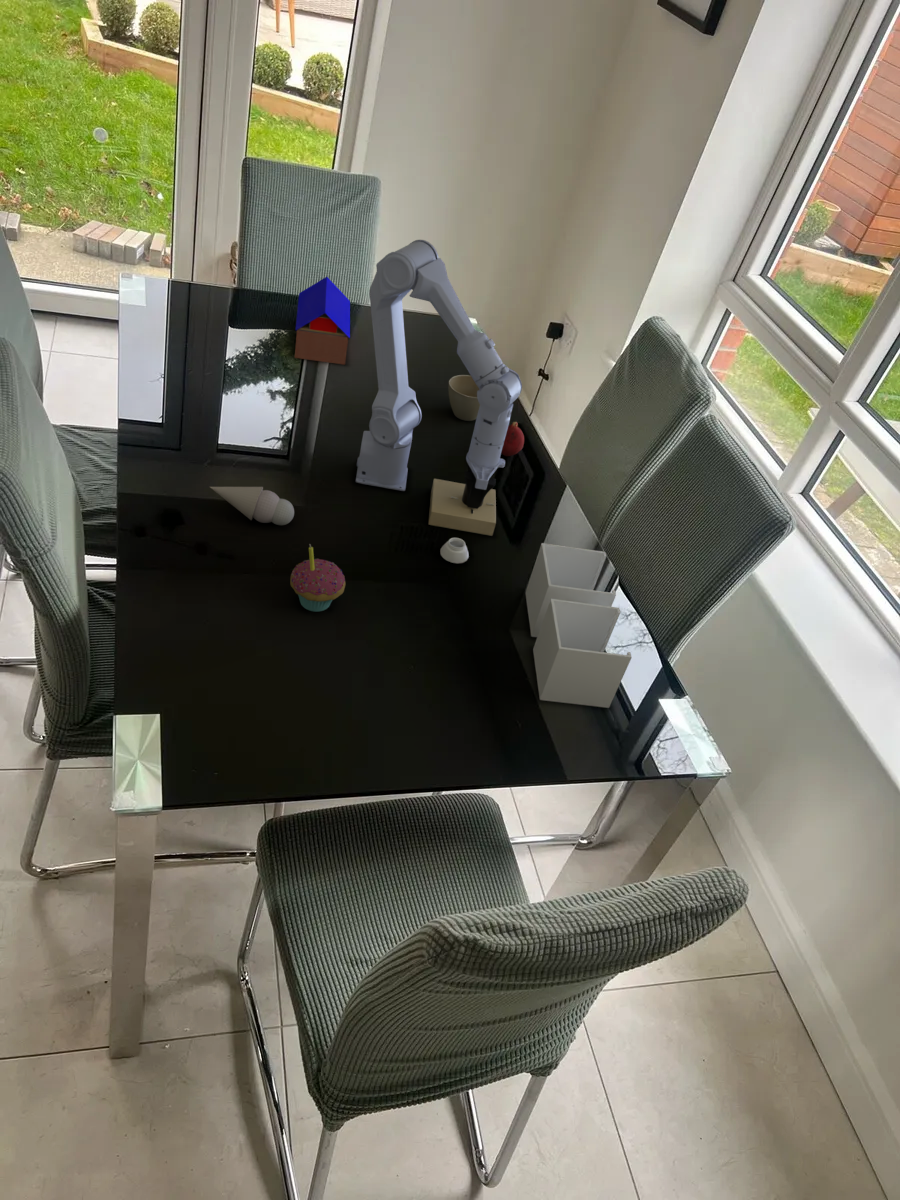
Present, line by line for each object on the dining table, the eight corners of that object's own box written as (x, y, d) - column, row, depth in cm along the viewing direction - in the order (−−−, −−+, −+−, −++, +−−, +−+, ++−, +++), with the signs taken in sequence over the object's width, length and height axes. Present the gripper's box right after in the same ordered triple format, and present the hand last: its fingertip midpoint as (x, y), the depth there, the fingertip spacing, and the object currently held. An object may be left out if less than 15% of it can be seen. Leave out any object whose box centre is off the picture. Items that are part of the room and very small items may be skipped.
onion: (517, 466, 188) (526, 433, 183) (490, 459, 188) (499, 425, 183) (521, 453, 193) (530, 420, 187) (494, 445, 193) (503, 412, 188)
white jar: (453, 543, 164) (434, 553, 161) (456, 530, 162) (437, 540, 159) (473, 558, 162) (454, 568, 159) (476, 545, 160) (457, 555, 157)
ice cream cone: (205, 504, 158) (288, 533, 161) (201, 502, 152) (287, 532, 155) (216, 471, 158) (299, 500, 161) (213, 468, 152) (299, 498, 155)
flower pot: (495, 416, 202) (502, 388, 198) (472, 432, 195) (479, 402, 191) (458, 398, 205) (464, 369, 201) (434, 413, 198) (440, 383, 194)
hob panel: (428, 524, 167) (431, 510, 165) (431, 491, 175) (434, 477, 173) (492, 536, 168) (496, 522, 166) (492, 502, 176) (495, 488, 174)
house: (293, 358, 205) (297, 308, 197) (296, 319, 219) (301, 272, 212) (346, 365, 207) (352, 317, 199) (346, 326, 222) (352, 280, 214)
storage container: (525, 592, 157) (541, 542, 150) (586, 601, 159) (605, 552, 152) (539, 699, 138) (559, 648, 131) (608, 707, 140) (631, 657, 133)
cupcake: (298, 623, 141) (305, 564, 133) (280, 588, 146) (286, 529, 138) (350, 613, 145) (359, 555, 137) (330, 580, 150) (338, 521, 142)
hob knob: (482, 509, 168) (487, 491, 166) (461, 505, 168) (465, 487, 165) (482, 497, 172) (487, 479, 169) (462, 493, 171) (466, 475, 168)
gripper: (511, 462, 156) (493, 526, 164) (510, 420, 167) (494, 482, 175) (470, 455, 155) (455, 519, 164) (472, 413, 166) (458, 475, 175)
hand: (472, 500), depth 170 cm, fingers closed on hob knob, 4 cm apart
